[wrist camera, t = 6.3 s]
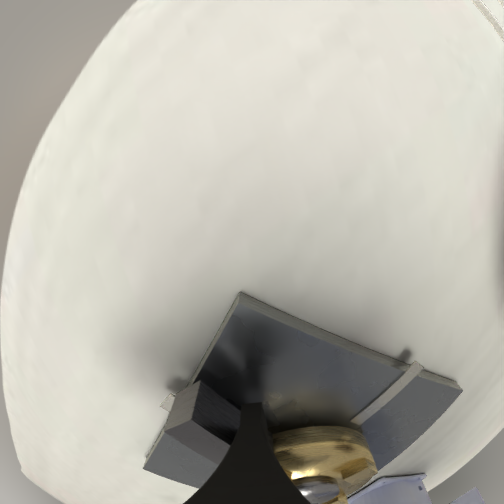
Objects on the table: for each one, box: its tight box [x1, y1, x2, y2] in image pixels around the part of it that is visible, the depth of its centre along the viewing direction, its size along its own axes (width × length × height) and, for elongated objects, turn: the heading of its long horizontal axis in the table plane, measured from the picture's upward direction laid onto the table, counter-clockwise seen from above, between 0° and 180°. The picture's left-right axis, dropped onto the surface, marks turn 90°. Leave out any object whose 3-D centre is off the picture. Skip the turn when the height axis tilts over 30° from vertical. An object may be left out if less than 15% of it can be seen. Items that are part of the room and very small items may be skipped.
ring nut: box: [164, 380, 378, 504], centre depth 11 cm, size 14×9×3 cm, turn 39°
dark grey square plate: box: [143, 292, 463, 488], centre depth 14 cm, size 19×19×1 cm
